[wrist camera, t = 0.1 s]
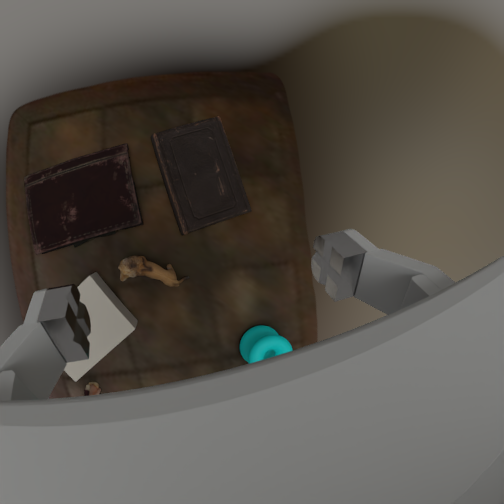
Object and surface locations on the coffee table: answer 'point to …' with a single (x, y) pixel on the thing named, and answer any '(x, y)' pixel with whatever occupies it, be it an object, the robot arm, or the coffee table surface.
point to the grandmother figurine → (92, 389)
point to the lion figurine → (148, 270)
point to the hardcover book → (200, 174)
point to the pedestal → (101, 323)
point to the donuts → (262, 344)
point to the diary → (82, 199)
